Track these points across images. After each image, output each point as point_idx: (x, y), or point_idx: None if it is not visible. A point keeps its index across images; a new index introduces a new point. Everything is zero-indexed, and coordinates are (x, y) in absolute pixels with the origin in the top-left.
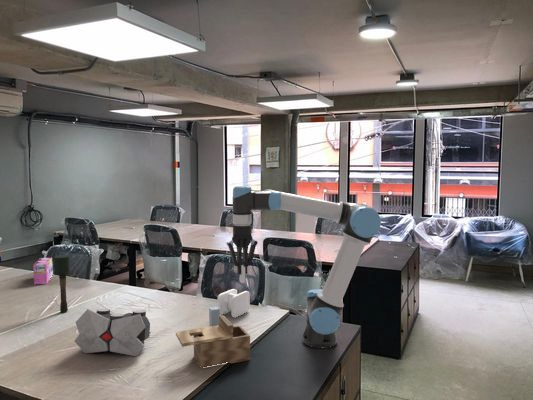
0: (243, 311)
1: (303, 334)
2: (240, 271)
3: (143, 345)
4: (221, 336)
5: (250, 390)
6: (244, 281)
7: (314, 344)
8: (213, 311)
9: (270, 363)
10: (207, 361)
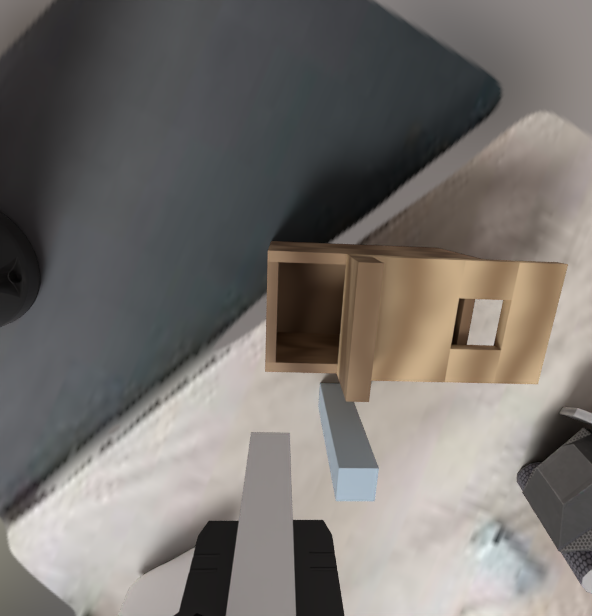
0: (159, 572)
1: (15, 295)
2: (305, 560)
3: (581, 412)
4: (399, 263)
5: (356, 32)
6: (259, 441)
7: (3, 223)
8: (367, 463)
9: (217, 184)
10: (426, 249)
